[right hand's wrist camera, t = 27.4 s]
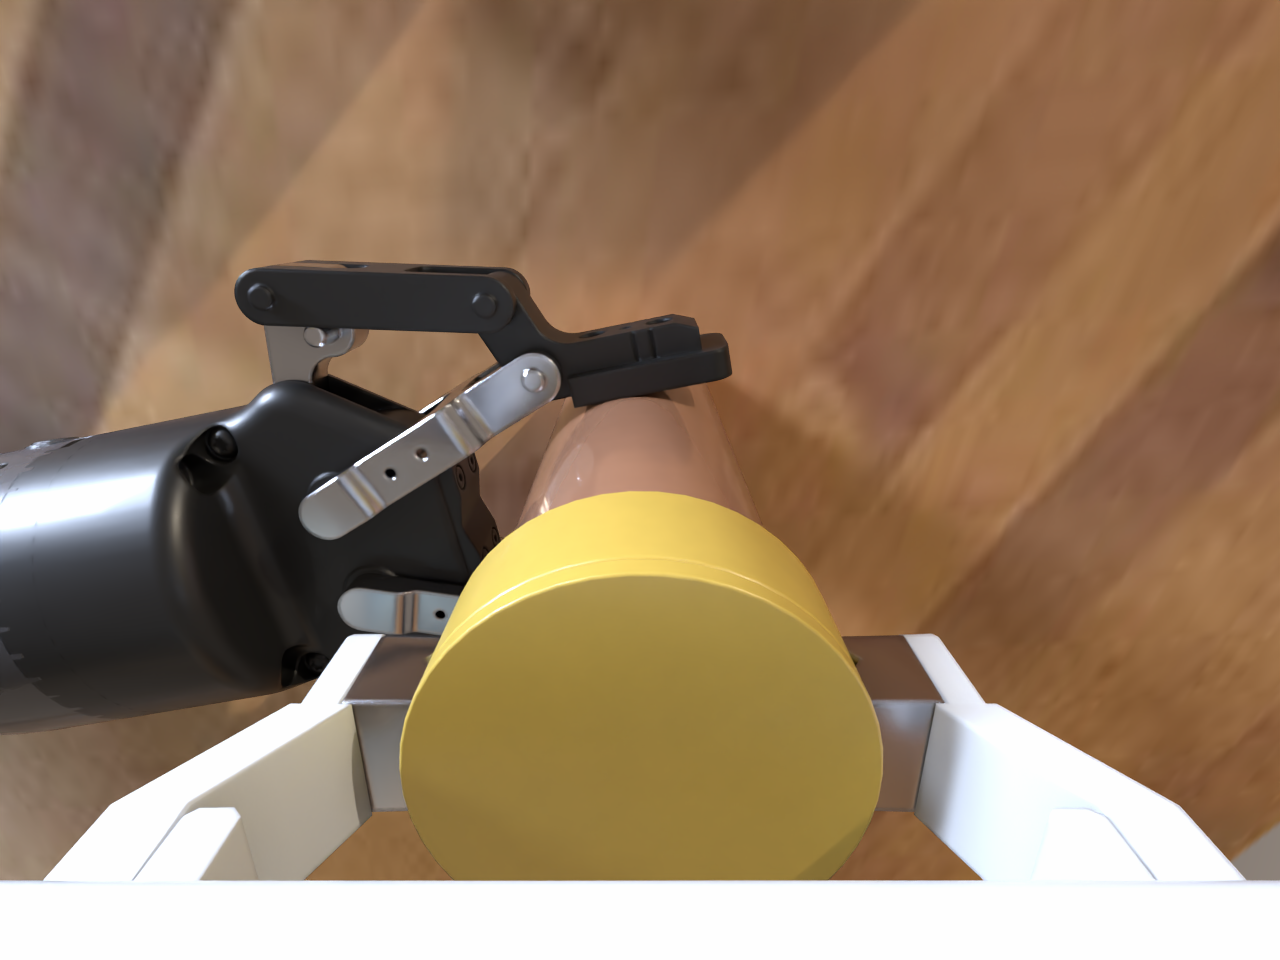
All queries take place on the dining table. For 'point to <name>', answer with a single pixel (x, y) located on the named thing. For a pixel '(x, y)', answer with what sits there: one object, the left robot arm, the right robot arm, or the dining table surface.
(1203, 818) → the dining table surface
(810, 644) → the lid
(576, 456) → the jar
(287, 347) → the left robot arm
